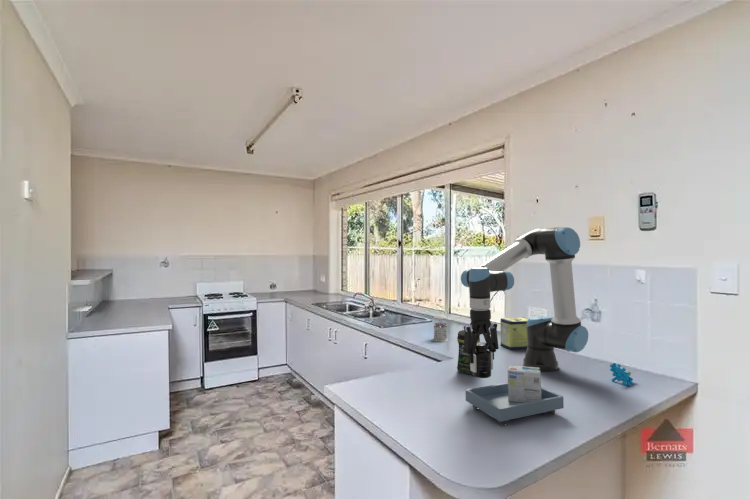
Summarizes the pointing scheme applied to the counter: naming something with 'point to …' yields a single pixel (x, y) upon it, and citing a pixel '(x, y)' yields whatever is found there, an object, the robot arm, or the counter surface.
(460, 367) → the coffee jar
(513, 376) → the light bulb box
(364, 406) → the counter surface
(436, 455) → the counter surface
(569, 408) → the counter surface
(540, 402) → the tote
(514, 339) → the protein box
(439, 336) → the french press
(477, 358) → the supplement bottle
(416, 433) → the counter surface
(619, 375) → the gear
